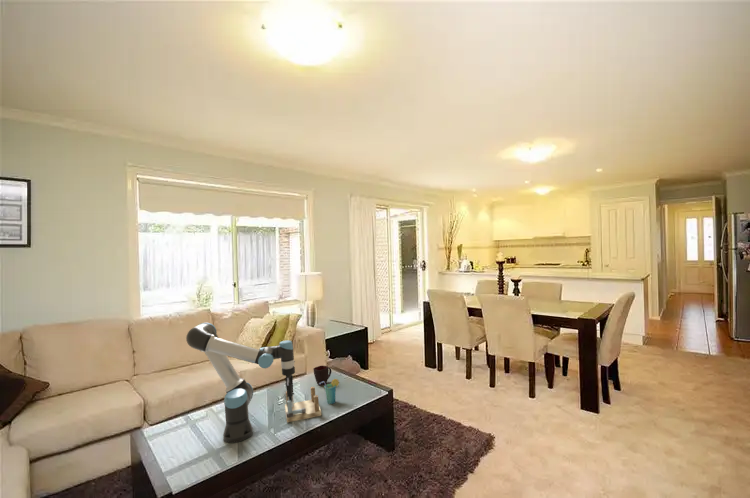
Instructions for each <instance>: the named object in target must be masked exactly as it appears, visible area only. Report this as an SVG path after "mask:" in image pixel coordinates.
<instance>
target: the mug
mask: <svg viewBox="0 0 750 498" xmlns="http://www.w3.org/2000/svg"><path fill="white" fill-rule="evenodd" d="M312 371H313V375H314V379H315V382H316V384H317V385H318V386H325V384H324V383H321V382H322V381H324V382H325V383H326V385H327V384H328V380H329V379H330V377H331V375H332V369H331V367H329V366H328V365H319V366H316V367H314V368H313V369H312ZM319 383H321V384H320V385H319Z"/></svg>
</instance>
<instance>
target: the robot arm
mask: <svg viewBox="0 0 750 498" xmlns="http://www.w3.org/2000/svg"><path fill="white" fill-rule="evenodd" d="M185 338H186V342H187V343H186V344H187V345H188V346H189V347H190V348H192V349H195V350H197V351H200V352H202V353H203V352H204V354H205V356H206V357H207V359H208V361H209V362H210V363H211V365H212V367H213V369H214V370H215V372H216V373H217V375H218V376H219V378H220V379H221V381H222V382H223V384H224V386H225V393H226V394H225V395H224V397H223V399H224V400H223V403H224V412H225V413H224V414H225V427H224V430H223V434H222V438H223V441H224V442H226V443H231V444H232V443H233V444H235V443H239V442H242V441H246V440H247V439H248V438H250V437H251V436H253V434H254V428H253V425H252V423H251V421H250V418H249V405H250V403H251V401H252V399H253V397H254V388H253V387H252V384H251V383H249V382H247V381H246V379H245V378H244V377H243V378H242V377H241V376H240V375H239V374H238V372H237V370H236V369H235V367H234V365H233V364H232V362H231V361H230V359H229V357H230V358H235V359H237V360H242V361H245V362H248V363H252V364H254V365H258V366H259V367H260V368H262V369H268V368H270V367H271V366H272V364H273V363H274V360H277V359H278V360H279V359H280V367H281V374H282V376H285V378H284V379H285V380H284V381H285V383H284V384H285V388H286V391H287V397H288V400H291V402H292V407H294V403H295V402H294V401H295V400H294V395H295V393H294V380H293V379H294V375H295V373H296V367H295V363H296V360H295V356H294V346H293V345H294V344H293V341H292V340H287V339H286V340H282V341H279V345H273V346H271V345H270V346H264V347H259V348H255V347H251V346H247V345H244V344H241V343H237V342H234V341H230V340H227V339H224V338H219V335H218V334H217V328H216V327H215V325H214V324H212V323H209V322H201V323H199V324H198V325H196V326H194V327H192V328H191V329H190V330H189V331H187V334H186V337H185Z"/></svg>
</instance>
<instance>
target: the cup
mask: <svg viewBox="0 0 750 498" xmlns="http://www.w3.org/2000/svg"><path fill="white" fill-rule="evenodd" d="M321 383H324V384H325V385H323V386H324V390H325V396H326V403H327V404H328V405H332V404H335V403H336V392H337V391H336V389H337V388H338V386H339V384H340V381H339V379H337V378H334V379H332V380H331V383H327V384H326V383H325V382H324V381H322V382H321ZM321 383H319V385H318V386H320V384H321Z"/></svg>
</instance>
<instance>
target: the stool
mask: <svg viewBox="0 0 750 498" xmlns="http://www.w3.org/2000/svg"><path fill="white" fill-rule="evenodd" d="M310 397H311V398H310V399H308V400H303V401H297V402H294V407H292V411H294V410H299V409H302V408H306V412H305V413H298V414H293V413H290V414H288V407H287V401H288V397H287V390H286V391H285V400H286V401H285V402H286V403H285V404H284V411H285V417H286V418H285V419H286V423H290V422H291V423H292V422H296V421H302V420H306V419H311V418H316V417H320V416H322V409H321V407H320V401H319V395H316V388H315V386H311V387H310Z"/></svg>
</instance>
